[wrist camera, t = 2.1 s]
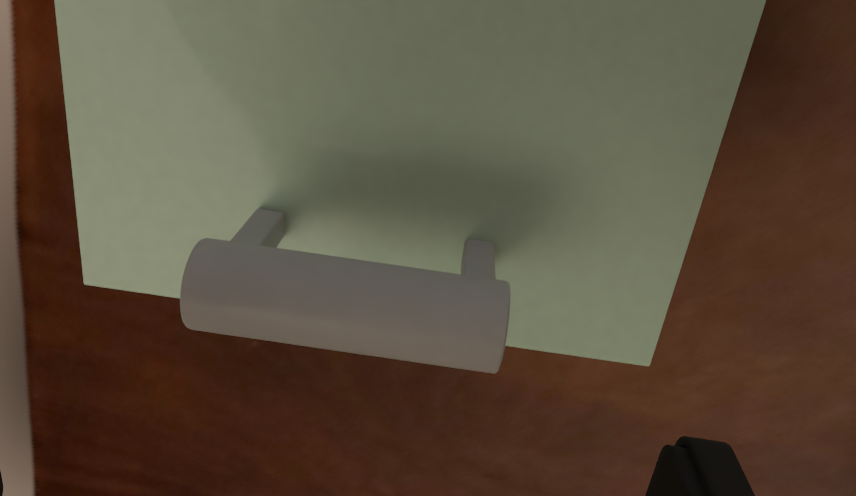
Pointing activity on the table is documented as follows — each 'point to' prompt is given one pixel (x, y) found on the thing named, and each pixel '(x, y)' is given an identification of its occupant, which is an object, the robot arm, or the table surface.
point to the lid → (401, 165)
